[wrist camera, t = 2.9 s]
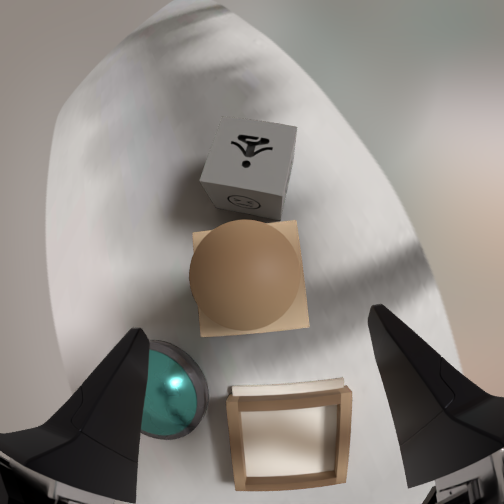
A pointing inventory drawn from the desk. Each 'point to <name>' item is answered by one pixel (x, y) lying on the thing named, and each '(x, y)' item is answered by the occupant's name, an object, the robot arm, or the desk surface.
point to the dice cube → (250, 166)
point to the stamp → (248, 278)
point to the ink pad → (172, 393)
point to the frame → (289, 434)
